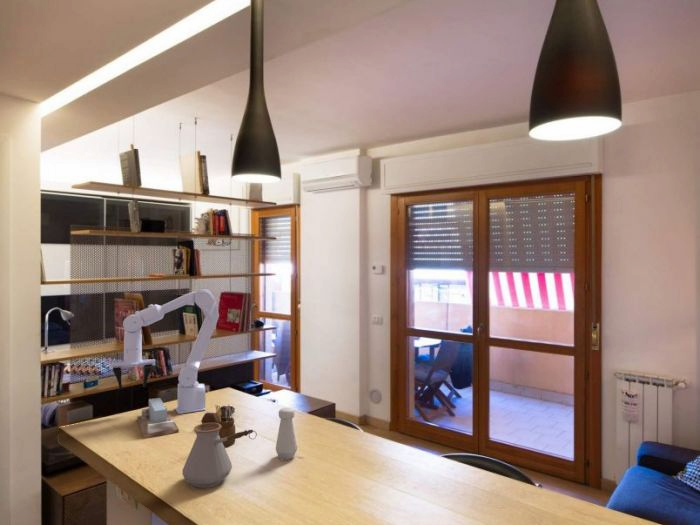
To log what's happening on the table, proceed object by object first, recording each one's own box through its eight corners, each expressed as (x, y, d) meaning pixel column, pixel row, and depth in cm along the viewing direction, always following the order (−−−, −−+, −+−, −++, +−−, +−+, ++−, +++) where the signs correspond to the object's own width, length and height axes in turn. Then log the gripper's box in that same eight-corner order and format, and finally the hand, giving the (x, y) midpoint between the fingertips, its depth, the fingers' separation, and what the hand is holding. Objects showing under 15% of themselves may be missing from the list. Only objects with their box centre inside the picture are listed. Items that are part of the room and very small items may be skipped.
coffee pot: (171, 483, 109) (172, 420, 109) (210, 466, 119) (211, 408, 119) (234, 509, 97) (234, 438, 98) (271, 487, 107) (271, 423, 107)
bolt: (233, 420, 160) (210, 434, 146) (221, 412, 162) (198, 425, 147) (240, 406, 160) (219, 418, 145) (229, 398, 161) (206, 409, 147)
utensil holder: (239, 441, 135) (240, 401, 136) (224, 449, 130) (225, 406, 130) (224, 438, 138) (224, 398, 138) (209, 445, 133) (209, 403, 133)
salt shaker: (293, 462, 121) (293, 412, 121) (272, 460, 122) (272, 411, 122) (299, 453, 127) (299, 406, 127) (280, 452, 128) (280, 405, 128)
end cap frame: (168, 414, 161) (168, 404, 161) (178, 432, 143) (178, 421, 143) (137, 419, 156) (137, 409, 156) (143, 438, 138) (143, 426, 138)
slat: (159, 415, 157) (159, 397, 157) (166, 428, 144) (166, 409, 144) (148, 417, 155) (148, 399, 155) (154, 430, 142) (154, 411, 142)
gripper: (110, 352, 154) (109, 393, 154) (156, 348, 161) (156, 387, 161) (109, 349, 160) (108, 388, 160) (154, 346, 167) (153, 383, 167)
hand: (132, 387), depth 161 cm, fingers open, 7 cm apart
